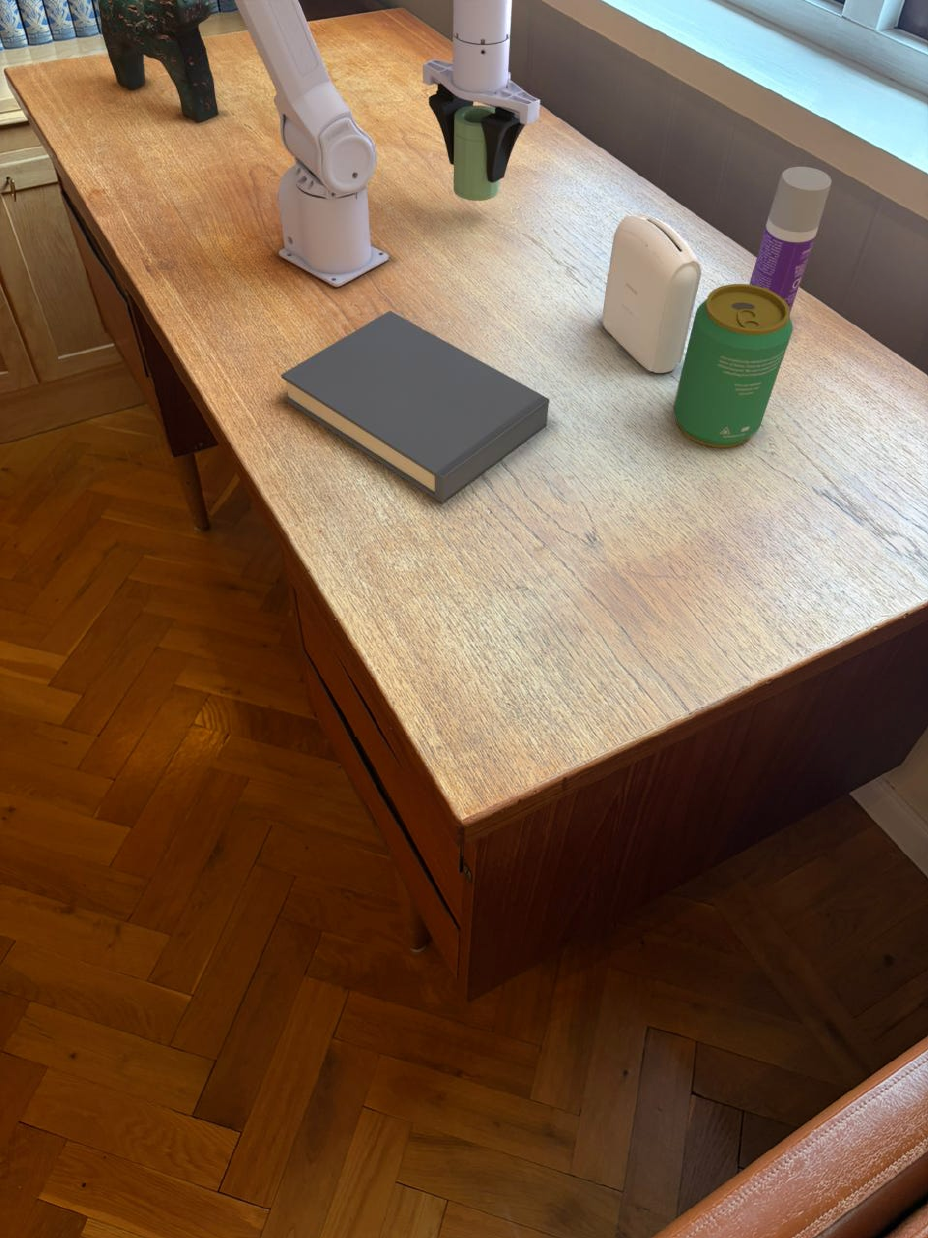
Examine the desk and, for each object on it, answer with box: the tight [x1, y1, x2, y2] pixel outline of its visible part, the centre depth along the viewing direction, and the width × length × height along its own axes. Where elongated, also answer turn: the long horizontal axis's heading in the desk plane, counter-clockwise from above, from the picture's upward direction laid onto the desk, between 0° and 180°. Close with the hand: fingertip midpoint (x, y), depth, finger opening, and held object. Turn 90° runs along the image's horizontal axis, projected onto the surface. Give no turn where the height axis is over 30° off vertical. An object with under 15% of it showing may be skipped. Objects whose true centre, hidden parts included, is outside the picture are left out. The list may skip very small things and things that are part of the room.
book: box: [280, 310, 551, 505], centre depth 85 cm, size 20×14×3 cm
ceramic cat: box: [97, 0, 219, 123], centre depth 118 cm, size 20×6×20 cm, turn 49°
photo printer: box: [601, 212, 702, 374], centre depth 89 cm, size 10×4×12 cm, turn 26°
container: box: [748, 166, 832, 313], centre depth 90 cm, size 5×5×15 cm
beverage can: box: [672, 283, 794, 449], centre depth 82 cm, size 8×8×12 cm
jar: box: [453, 105, 501, 202], centre depth 102 cm, size 5×5×8 cm
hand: (477, 170), depth 104 cm, fingers closed on jar, 5 cm apart
